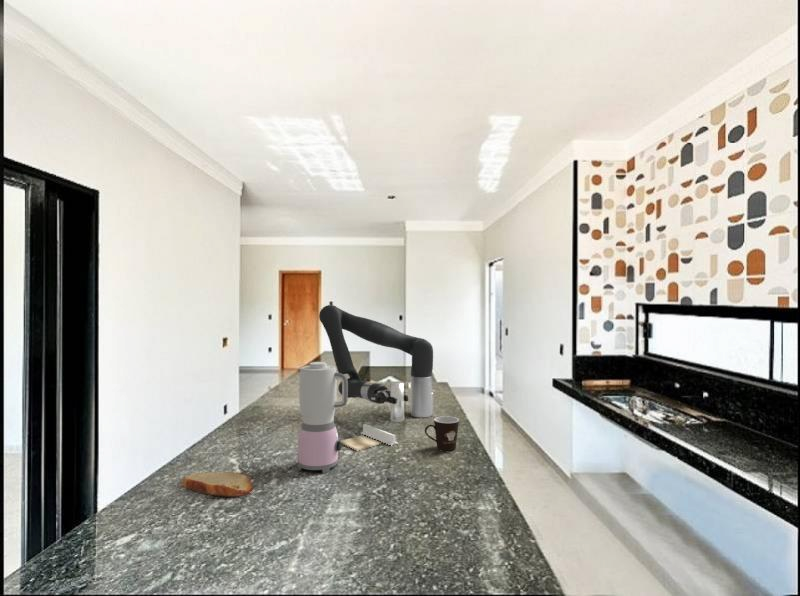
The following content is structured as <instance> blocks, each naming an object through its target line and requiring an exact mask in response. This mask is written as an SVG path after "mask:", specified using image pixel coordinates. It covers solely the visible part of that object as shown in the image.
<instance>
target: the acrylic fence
mask: <svg viewBox="0 0 800 596" xmlns="http://www.w3.org/2000/svg"><path fill="white" fill-rule="evenodd" d="M362 434H363V435H362ZM360 435H362V436H364V435H366V436H365V437H367V436H368V437H367V438H369V437H371V438H370V439H372V438H373V439H372V440H374V439H376V440H375V441H377V440H379V441H381V442H380V443H382V442H383V443H382V444H384V443H386V444H385V445H387V444H388V445H387V446H389V445H391V446H390V447H393V446H392V445H394V446H396V445H395V444H399V442H398V441H397V439H396V434H393V433H391V432H388V431H385V430H383V429H380V428H377V427H374V426H372V425H369V424H366V423H364V424H362V431H360ZM379 441H378V442H379Z"/></svg>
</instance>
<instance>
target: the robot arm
mask: <svg viewBox="0 0 800 596" xmlns="http://www.w3.org/2000/svg"><path fill="white" fill-rule="evenodd" d="M318 314H319V315H318V319H319V321H320V322H321V324H322V326H323V328H324V330H325V332H326V334H327V337H328V340H329V344H330V347H331V351H332V356H333V359H334V362H335V368H336V371H337V373H341V374H343V375H348V377H349V378H348V377H347V381H348V399H349V398H350V399H353V398H355V399H356V398H359V399H364V400H366V401H368V402H372V403H375V404H377V405H379V404H380V405H381V404H385V403H386V404H390V403H392V404H396V403H397V399H396V398H394V397H391V396H390V389H388V388H387V386H386V385H385V384H382V383H378V382H371V381H366V380H362V378H361V377H360V375H359V373H358V372H357V370H356V368H355V366H354V363H353V360H352V357H351V353H350V349H349V347H348V345H347V342H346V339H345V337H344V332H343V330H344V331H347V332H350V333H352V334H353V335H354V336H357V337H359V338H360V339H362V340H365V341H367V342H370V343H371V344H376V345H377V346H382V347H385V348H392V349H397V350H400V351H402V352H404V353H406V354H408V355H410V356H411V367H410V415H411V416H412V417H415V418H428V417H432V416H433V415H434V392H433V370H434V369H433V367H434V348H433V345H432V343H431V342H430V341H429V340H426V339H425V338H421V337H417V336H414V335H408V334H406V333H404V332H403V333H402V332H401V331H399V330H397V329H396V328H393V327H391V326H388V325H386V324H385V323H382V322H379V321H376V320H374V319H370V318H366V317H362V316H358V315H354V314H352V313H349V312H347V311H345V310H343V309H341V308H339V307H337V305H333V304H327V305H325V306H323V307H322V308H321V310H320V311H319V313H318ZM337 390H338V392H339V393H340V394H339V395H341V396H342V381H340V383H339V384H338V387H337ZM404 402H409V395H408V394H406V392H405V391H404ZM411 416H410V417H411Z"/></svg>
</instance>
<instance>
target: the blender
mask: <svg viewBox="0 0 800 596" xmlns="http://www.w3.org/2000/svg"><path fill="white" fill-rule="evenodd" d="M347 379H348V377H347V376H346V374H341V373H338V372H337V367H336V366H334V365H331V364H330V365H328V364H327V362H326V361H314V362H310V363H309V365H305V366H301V367H299V382H298V383H299V386H298V388H299V408H300V412H301V413H300V414H301V418H302V420H301V421H302V424H301V427H300V429H299V432H298V436H297V455H298V459H297V467H298V470H299V471H302V469H303V470H307V471H321V473H322V474H326V473H329V472H330V469H331V468H333V467H335V466H338V464H339V451H341V450H342V447H343V445H342V443H341V442H340V441H341V440H339V434H338V429H337V427H336V424H335V421H334V420H335V413H336V408H342V407H345V406H346V405H347V403H348V399H349V398H348V381H347ZM337 380H341V382H342V395H341V400H339V401H337V396H338V394H337V393H338V392H337V390H338V387H337V386H338V385H337V384H338V383H337Z"/></svg>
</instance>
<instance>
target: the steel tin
mask: <svg viewBox="0 0 800 596" xmlns="http://www.w3.org/2000/svg"><path fill="white" fill-rule="evenodd" d="M389 390H390V396H391V397H394V398H396V399H397V403H396V404H392V403H389V404H390V410H389V411H390V421H391V422H396V423H399V422H400V423H401V422H403V421H404V422H405V401H404V392H405V383H404V382H403V381H391V382H389Z"/></svg>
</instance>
